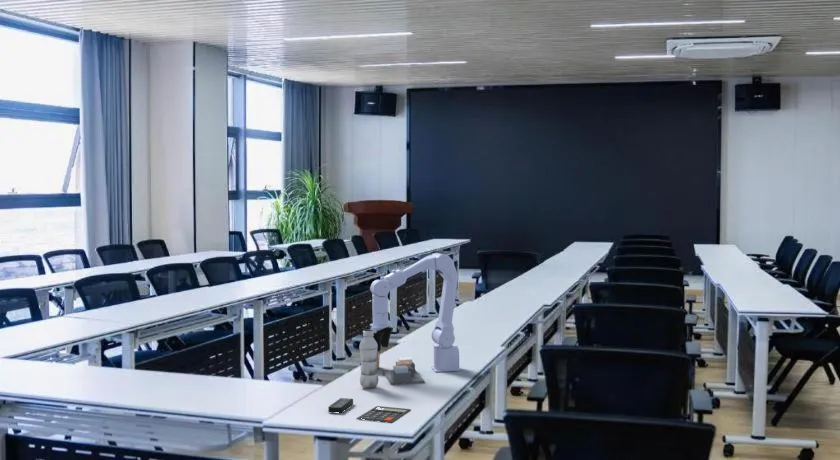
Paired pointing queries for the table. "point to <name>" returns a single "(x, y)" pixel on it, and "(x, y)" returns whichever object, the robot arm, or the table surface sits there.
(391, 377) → the panel
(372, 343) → the plastic bottle
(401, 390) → the table surface
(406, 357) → the ivory key
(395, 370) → the slate key
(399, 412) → the calculator
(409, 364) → the terracotta key
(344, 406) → the multiport hub
